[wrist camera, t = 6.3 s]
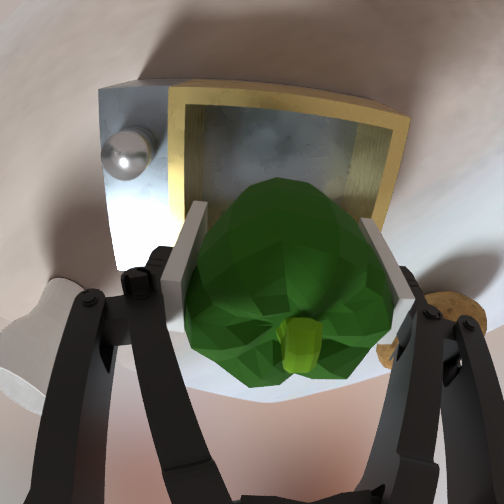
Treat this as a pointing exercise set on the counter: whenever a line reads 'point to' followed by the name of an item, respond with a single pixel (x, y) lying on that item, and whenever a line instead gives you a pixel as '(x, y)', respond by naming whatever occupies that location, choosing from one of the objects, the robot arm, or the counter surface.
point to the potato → (451, 309)
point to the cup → (35, 345)
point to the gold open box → (236, 152)
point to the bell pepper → (286, 288)
